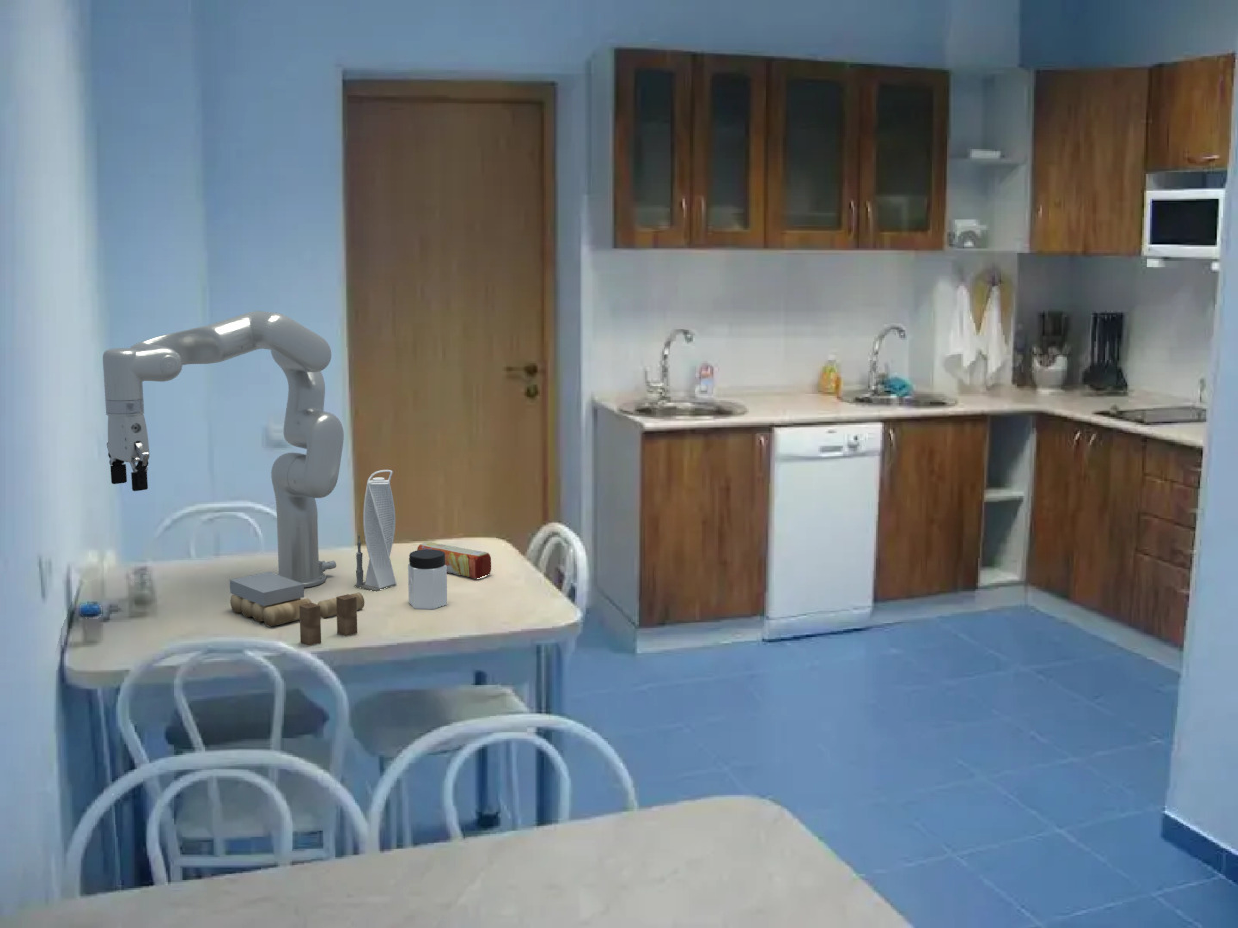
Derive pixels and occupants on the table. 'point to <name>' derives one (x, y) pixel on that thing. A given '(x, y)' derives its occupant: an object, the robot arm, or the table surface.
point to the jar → (427, 579)
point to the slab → (266, 588)
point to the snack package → (462, 560)
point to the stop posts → (312, 621)
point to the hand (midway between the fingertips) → (129, 486)
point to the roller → (330, 605)
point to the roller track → (269, 610)
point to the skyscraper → (377, 535)
